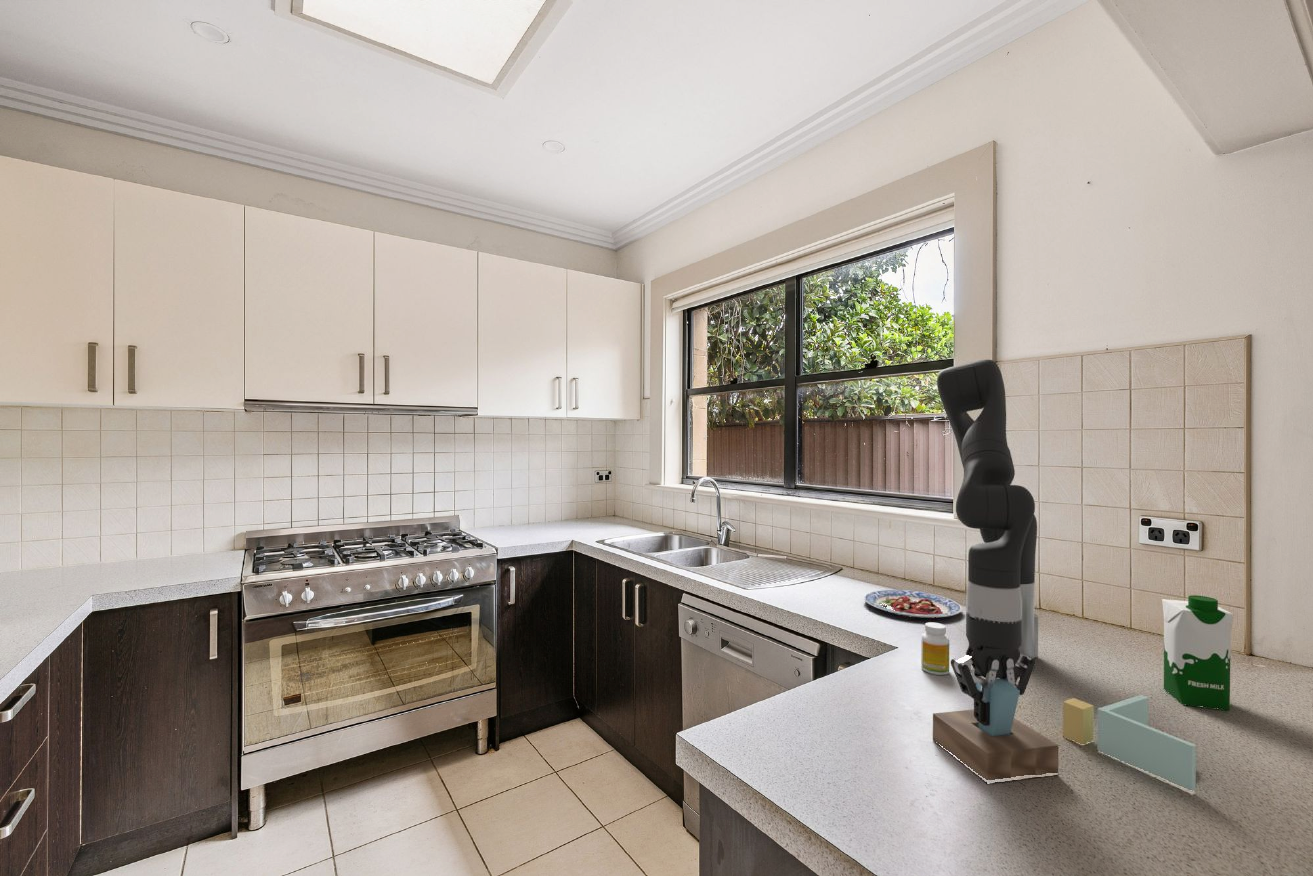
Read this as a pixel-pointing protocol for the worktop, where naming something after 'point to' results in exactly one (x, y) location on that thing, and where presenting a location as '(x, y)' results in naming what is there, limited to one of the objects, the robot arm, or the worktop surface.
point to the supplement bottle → (935, 649)
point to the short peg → (1078, 720)
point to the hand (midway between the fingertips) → (992, 721)
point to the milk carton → (1197, 651)
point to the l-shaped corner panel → (1145, 742)
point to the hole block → (995, 747)
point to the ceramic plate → (913, 603)
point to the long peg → (1001, 708)
